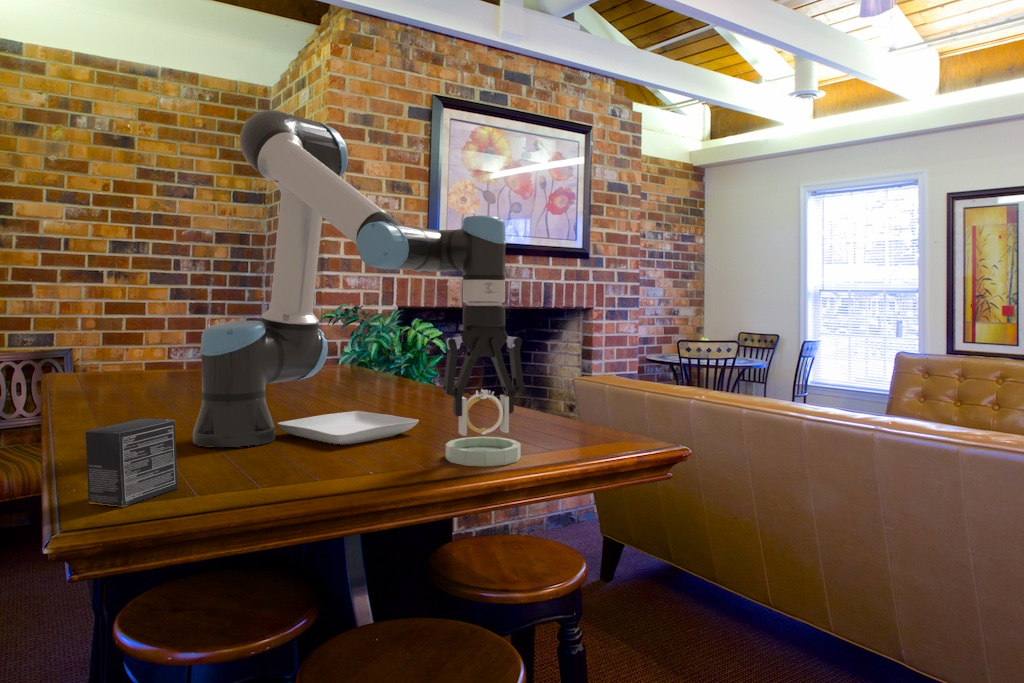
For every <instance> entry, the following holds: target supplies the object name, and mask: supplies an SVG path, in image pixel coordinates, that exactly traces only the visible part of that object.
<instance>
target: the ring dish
mask: <svg viewBox="0 0 1024 683" xmlns="http://www.w3.org/2000/svg"><path fill="white" fill-rule="evenodd" d="M521 444H522V443H520V442H518V441H517V440H515V439H511V438H506V437H505V438H504V437H501V436H500V437H499V436H498V437H495V436H473V437H472V436H471V437H461V438H455V439H451V440H449V441H448V442H447V443H445V459H446V460H447V461H449V463H451V464H456V465H461V466H465V467H466V466H470V467H495V466H496V467H497V466H506V465H510V464H513V463H516V462H519V460H520V459H521V455H522V454H521V450H522V449H521Z"/></svg>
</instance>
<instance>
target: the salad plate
mask: <svg viewBox="0 0 1024 683" xmlns="http://www.w3.org/2000/svg"><path fill="white" fill-rule="evenodd" d="M418 423H419V419H417V418H416V419H415V418H409V417H405V416H404V417H403V416H397V415H393V414H392V415H390V414H386V413H385V414H383V413H375V412H369V411H360V410H353V411H346V412H344V411H343V412H336V413H329V414H328V413H327V414H320V415H314V416H308V417H304V418H297V419H291V420H285V421H279V422H277V423H276V425H277V426H278V427H279V428H280V429H281V430H282V431H284V432H285V433H288V434H290V435H293V436H296V437H300V438H303V437H304V439H307V438H308V440H312V441H316V440H317V441H316V442H321V441H322V442H321V443H326V442H327V444H331V443H333V444H332V445H337V444H340V445H339V446H342V445H343V446H345V445H346V444H347V445H352V444H353V445H354V444H359V443H365V442H370V441H375V440H379V439H384V438H385V439H386V438H391V437H394V436H396V435H398V434H402V433H404V432H406V431H409V430H411V429H412V428H413V427H415V426H416V425H417V424H418Z"/></svg>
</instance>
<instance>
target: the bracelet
mask: <svg viewBox="0 0 1024 683" xmlns="http://www.w3.org/2000/svg"><path fill="white" fill-rule="evenodd" d="M475 391H476V392H475V394H473V395H471V396H470V397H469V398H468V399H467V427H469V429H470V430H472V431H473V432H475V433H479V434H481V435H486V434H489V433H492V432H494V431H495V430H496V429H497V428H498V427H500V423H501V421H502V418H503V408H502V405H501V403H500V399H499V398H497V397H496V396H495V395H494V394H495V391H492V390H488V389H483V388H481V389H480V392H479V391H478V390H475ZM491 391H492V392H491ZM486 399H488V400H489V401H491V402H493V403H494V404H495V406H496V407H497V409H498V418H497V421H496V423H495V424H493V426H491V427H489V428H486V427H482V428H478V427H476V426H474V425H473V424H472V422H470V418H469V411H470V409H471V407H472V406H473V405H474V404H475V403H477V402H479V401H481V400H486Z"/></svg>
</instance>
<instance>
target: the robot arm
mask: <svg viewBox="0 0 1024 683" xmlns="http://www.w3.org/2000/svg"><path fill="white" fill-rule="evenodd" d="M239 147H240V150H241V154H242V155H243V157H244V159H245V160H246V162H247V163H248V164H249V166H250V167H252V168H253V169H254V170H255V171H257V172H258V173H259V174H260V175H261V176H263V177H264V178H266V179H267V180H268V181H274V182H273V183H274V185H275V186H276V187H277V189H278V190H279V192H280V204H279V210H278V211H279V214H278V224H277V235H276V245H275V254H274V255H275V256H274V266H273V276H272V277H273V278H272V288H271V297H270V298H271V299H270V306H269V309H268V310H267V311H265V312H264V313H262V315H261V321H260V320H241V321H230V322H223V323H218V324H214V325H210V326H207V327H206V328H204V330H203V332H202V333H201V342H200V350H199V352H200V357H201V358H200V360H201V361H200V362H201V398H202V399H201V406H200V410H199V413H198V415H197V419H196V422H195V423H194V428H193V431H192V443H195V444H197V445H202V446H214V447H236V446H248V447H251V446H250V445H255V446H260V444H261V445H265V444H267V443H268V444H269V443H271V442H273V441H274V440H276V427H275V425H274V424H275V423H274V422H273V421H274V420H273V419H272V416H271V413H270V410H269V408H268V404H267V401H266V385H268V384H277V383H283V382H298V381H301V380H303V379H308V378H311V377H313V376H315V375H316V374H317V373H319V371H321V369H322V368H323V367H324V364H325V362H326V360H327V357H328V352H329V351H328V350H329V349H328V340H327V339H326V338H325V334H324V332H323V331H322V330H321V329H320V328H319V327H320V326H319V325H320V320H319V318H317V316H316V315H315V314H314V312H313V310H314V303H315V302H314V300H315V292H316V282H317V272H318V265H319V264H318V263H319V262H318V261H319V254H320V244H321V235H322V234H321V233H322V224H323V223H322V222H323V219H324V220H325V221H327V222H328V223H329V224H330V225H332V226H333V228H335V229H337V230H338V231H339V232H341V234H342V235H344V236H345V237H346V238H347V239H349V240H350V241H351V242H353V244H355V245H356V246H355V247H356V252H357V253H358V254H359V258H360V259H361V261H362V263H364V264H366V265H367V266H368V267H371V268H377V269H380V270H386V271H387V270H401V271H403V270H405V271H413V272H420V273H437V272H440V273H442V272H462V302H463V303H465V305H464V306H463V307H462V331H461V333H460V335H458V336H456V337H452V338H451V337H447V338H446V339H445V347H446V349H447V350H446V351H447V352H446V360H445V362H446V363H445V368H444V378H443V383H442V384H443V386H442V392H443V393H444V394H446V395H447V396H450V397H452V399H453V401H452V403H453V407H452V408H453V409H452V410H453V414H454V416H455V417H458V434H459V435H461V436H468V425H467V401H468V398H466V397H465V396H464V394H465V391H466V388H467V387H468V386H467V385H468V382H469V379H470V377H471V375H472V372H473V369H474V367H475V364H476V363H477V361H478V358H485V357H488V358H490V360H491V361H492V363H493V366H494V368H495V371H496V374H497V377H498V379H499V382H500V386H501V387H502V391H503V394H500V395H499V401H500V403H501V405H502V408H503V418H502V421H501V423H500V425H499V431H500V432H502V433H504V434H509V433H510V430H509V429H510V428H509V427H510V414H513V413H514V408H515V405H514V404H515V400H514V399H515V396H516V395H517V394H518V393H523V391H524V390H525V385H524V376H523V367H522V359H521V346H522V342H523V339H522V338H521V337H519V336H517V337H516V336H509V335H508V333H507V332H506V331H507V330H506V308H505V306H504V305H502V303H505V302H506V245H507V241H506V224H505V221H504V219H503V218H502V217H499V216H495V215H471V216H466V217H464V218H463V220H462V226H461V228H458V229H431V228H424V227H417V226H410V225H404V224H403V223H401V222H399V221H398V220H397V219H395V218H394V217H393V216H391V215H390V214H388V213H387V212H386V211H385V210H384V209H382V208H381V207H379V205H377V204H376V203H375V202H373V201H372V200H371V199H370V198H368V197H367V196H366V195H364V194H363V193H361V192H360V191H359V190H358V189H357V188H356V187H354V186H352V185H351V184H350V183H349V182H347V181H346V179H343V178H342V175H345V173H346V171H347V167H348V163H349V154H348V148H347V145H346V142H345V140H344V139H343V137H342V136H341V134H340V133H339V131H337V130H336V129H335V128H333V127H331V126H329V125H326V124H325V123H322V122H320V121H316V120H312V119H308V118H304V117H300V116H297V115H293V114H291V113H290V114H289V113H286V112H283V111H279V110H272V109H271V110H269V109H267V110H262V111H259V112H257V113H255V114H253V115H251V116H250V117H248V119H247V120H246V121H245V123H244V124H243V126H242V128H241V130H240V135H239ZM505 343H506V346H507V348H508V353H509V363H510V372H511V378H510V375H509V373H508V370H507V366H506V364H505V362H504V356H503V353H502V351H501V350H502V348H503V346H504V345H505ZM461 344H463V346H464V347H465V349H466V353H465V356H464V361H463V363H462V366H461V369H460V371H459V374H458V377H457V380H456V383H455V378H456V370H457V364H458V363H457V362H458V350H459V349H460V347H461Z"/></svg>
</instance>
